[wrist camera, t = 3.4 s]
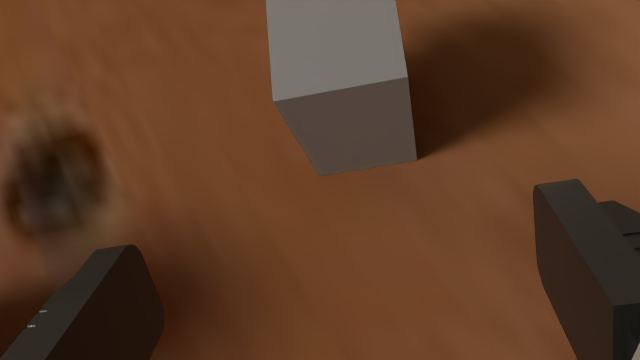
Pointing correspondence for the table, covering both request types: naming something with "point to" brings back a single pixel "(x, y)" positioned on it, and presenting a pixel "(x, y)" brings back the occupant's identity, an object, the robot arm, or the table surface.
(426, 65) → the table surface
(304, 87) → the plug
